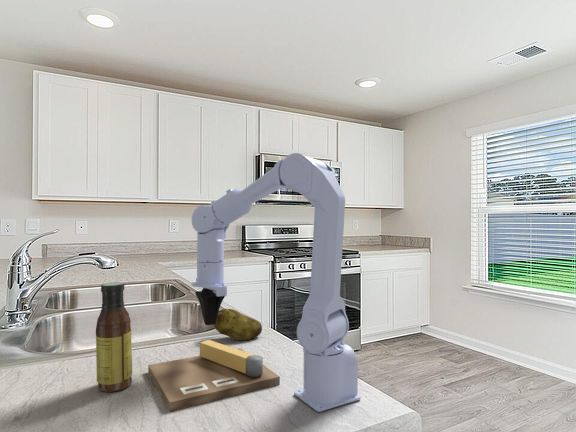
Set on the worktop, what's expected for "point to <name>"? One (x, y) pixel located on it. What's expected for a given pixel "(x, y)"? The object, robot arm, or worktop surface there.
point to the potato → (237, 325)
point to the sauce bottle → (113, 340)
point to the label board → (203, 381)
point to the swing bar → (232, 358)
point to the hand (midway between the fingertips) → (210, 324)
